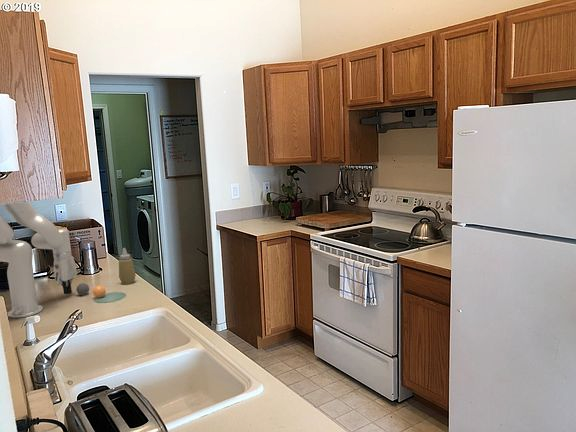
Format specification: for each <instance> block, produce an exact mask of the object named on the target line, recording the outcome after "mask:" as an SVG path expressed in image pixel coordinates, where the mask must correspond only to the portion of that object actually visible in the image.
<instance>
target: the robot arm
mask: <svg viewBox="0 0 576 432" xmlns="http://www.w3.org/2000/svg"><path fill="white" fill-rule="evenodd" d="M2 206H3V207H4V208H5V209H6V211H7V212H8V213H9V214H10V215H11V217H12V218H13V219H14V220H15V222H16V223H17V224H19V225H21V226H22V227H25V228H27V229H30V230H33V231H35V233H34V235H33V236H32V237H31V244H32V245H31V244H30V243H28V242H27V241H24V240H19V239H14V237H15V235H14V234H15V233H14V230H13V227H11V226H10V225H9V223H8V222H7V221H6V220H5V219H4V218H3V217H2V216H1V215H0V262H3V263H8V266H7V271H6V274H7V275H6V276H7V282H8V287H9V293H10V295H9V296H10V301H11V310H9V311H8V312H7V313H6V315H7V314H8V316H7V317H10V318H12V319H13V318H14V319H15V318H18V319H19V318H26V317H30V316H34V315H36V314H38V313H41V312H42V311H43V305H40V304H39V302H38V296H37V289H36V282H35V276H34V270H33V269H34V268H33V253H34V252H33V247H34V248H37V249H40V250H52V254H53V275H54V280H55V282H56V284H57V285H60V286H61V287H62V290H63V294H64V295H70V294H72V293H73V291H72V283H73V280H74V279H75V278H76V277H77V276H78V271H77V266H76V261H75V259H74V256H73V255H72V248H71V241H70V240H71V239H70V232H69V229H67V228H58V227H56V225H55V223H53V222H52V221H51V220H50V219H48V218H46V217H45V216H44V215H43V214H41V213H39V212H38V211H36V209H35V208H34V207H33V206H32V204H31V203H30V202H29V201H28V202H22V203H13V204H6V205H2ZM32 246H33V247H32Z"/></svg>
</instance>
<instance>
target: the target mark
mask: <svg viewBox="0 0 576 432" xmlns="http://www.w3.org/2000/svg"><path fill="white" fill-rule="evenodd" d="M126 296H127V293H125V292H122V291H121V292H120V291H116V292H115V291H114V292H107V293H106V292H105V295H104V296H103V297H101V298H97V297H95V296H94V298H93V302H95V303H98V304H107V303H115V302H117V301H121V300H123V299H124V298H125V297H126Z"/></svg>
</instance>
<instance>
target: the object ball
mask: <svg viewBox="0 0 576 432" xmlns="http://www.w3.org/2000/svg"><path fill="white" fill-rule="evenodd" d="M106 290H107V289H106V288H105V287H104V286H102V285H97V286H94V288H93V289H92V294H93V296H94V298H95V297H97V298H101V297H103V296H104V295H105V294H106V292H107V291H106Z"/></svg>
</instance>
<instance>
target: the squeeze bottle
mask: <svg viewBox="0 0 576 432" xmlns="http://www.w3.org/2000/svg"><path fill="white" fill-rule="evenodd" d="M121 252H122V254H121V255H119V256H120V258H119V260H118V278H119V280H120V282H121V285H130V284H134V283H135V280H136V270H135V265H134V261H133V258H131V254H129V253H128V252H127V249H126V247H123V248H122V251H121Z"/></svg>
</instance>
